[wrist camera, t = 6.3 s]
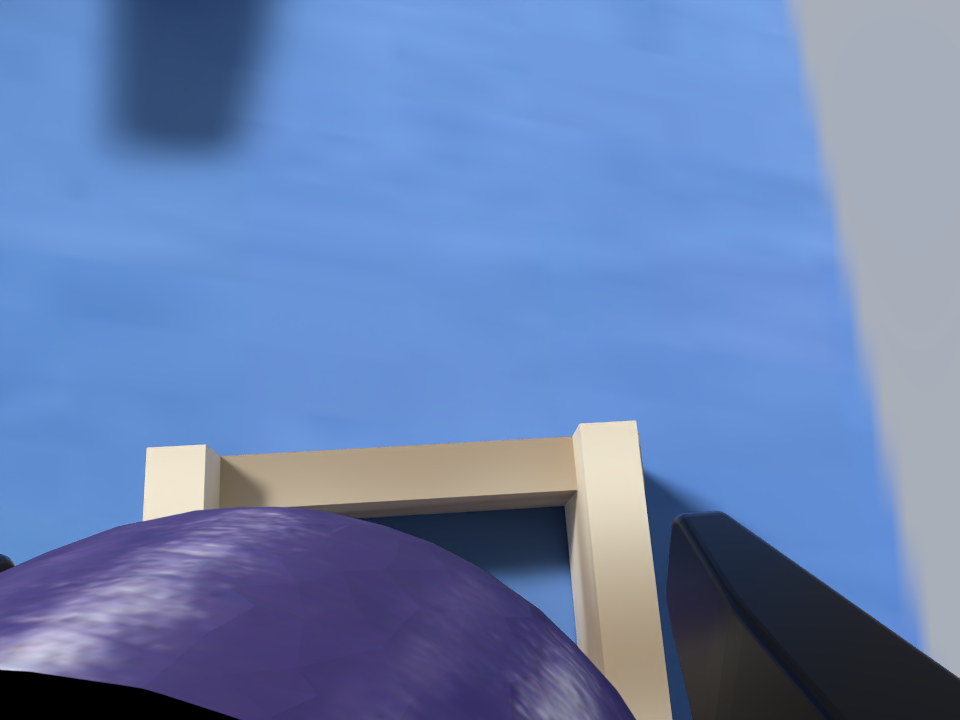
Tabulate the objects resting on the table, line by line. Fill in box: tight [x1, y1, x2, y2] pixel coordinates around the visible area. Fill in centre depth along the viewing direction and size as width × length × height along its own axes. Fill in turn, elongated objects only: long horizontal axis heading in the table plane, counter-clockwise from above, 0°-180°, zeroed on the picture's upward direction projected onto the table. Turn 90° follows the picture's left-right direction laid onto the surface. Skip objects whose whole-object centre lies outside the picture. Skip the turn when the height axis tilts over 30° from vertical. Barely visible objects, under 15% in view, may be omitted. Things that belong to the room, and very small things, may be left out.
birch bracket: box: [143, 421, 672, 720], centre depth 14 cm, size 8×9×5 cm
